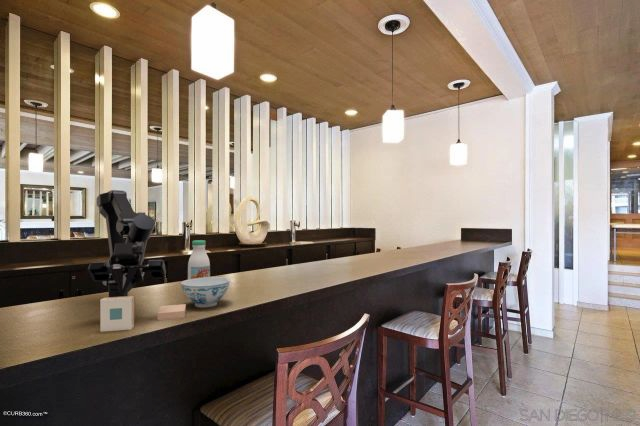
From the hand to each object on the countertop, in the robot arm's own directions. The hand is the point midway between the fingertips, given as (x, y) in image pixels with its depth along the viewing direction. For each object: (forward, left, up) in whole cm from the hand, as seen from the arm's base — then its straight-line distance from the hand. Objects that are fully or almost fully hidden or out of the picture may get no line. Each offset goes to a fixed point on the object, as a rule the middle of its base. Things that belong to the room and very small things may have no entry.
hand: (121, 296), depth 90 cm
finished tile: (-8, +10, -8) cm, 16 cm away
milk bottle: (-34, +11, -8) cm, 37 cm away
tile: (+2, 0, -8) cm, 8 cm away
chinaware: (-20, +17, -8) cm, 27 cm away
